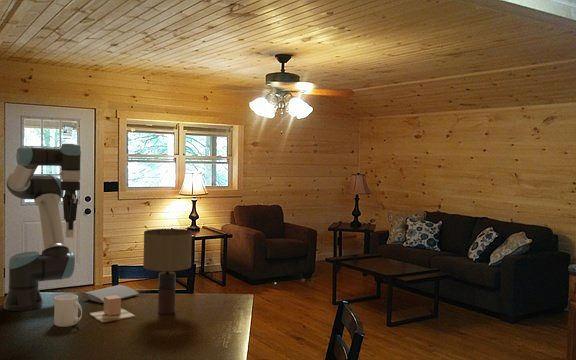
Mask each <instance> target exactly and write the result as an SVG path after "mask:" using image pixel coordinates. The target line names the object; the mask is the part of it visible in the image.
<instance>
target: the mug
mask: <svg viewBox="0 0 576 360" xmlns="http://www.w3.org/2000/svg"><path fill="white" fill-rule="evenodd" d="M79 310H80V316H79ZM53 313H54V318H53V319H54V325H55V326H56V327H60V328H61V327H62V328H63V327H64V328H66V327H67V328H68V327H72V326H75V325H77V324H78V322H79V321H81V319H82V317H83V308H82V306H81V304H80V303H79V296H78V295H77V294H72V293H71V294H60V295H57V296H54V311H53Z"/></svg>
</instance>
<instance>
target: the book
mask: <svg viewBox="0 0 576 360" xmlns="http://www.w3.org/2000/svg"><path fill="white" fill-rule="evenodd" d="M84 294H87V296H88V298H89V300H90V301H92V302H93V301H94V302H97V303H102V304H104V297H106V296H113V295H117V296H119V297H121V300H123V299H127V298H132V297H135V296H136V295H139V294H140V292H138V291H137V290H135V289H133V288H132V287H129V286H127V285H124V284H116V285H112V286H108V287H105V288H104V287H103V288H100V289H95V290H90V291H87V292H84Z"/></svg>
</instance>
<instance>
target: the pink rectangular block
mask: <svg viewBox="0 0 576 360" xmlns="http://www.w3.org/2000/svg"><path fill="white" fill-rule="evenodd" d="M121 308H122V299H121V297H119V296H117V295H113V296H106V297H104V303H103V311H104V313H105V314H106V315H108V316H111V315H117V314H121Z"/></svg>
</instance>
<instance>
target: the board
mask: <svg viewBox="0 0 576 360" xmlns="http://www.w3.org/2000/svg"><path fill="white" fill-rule="evenodd" d="M89 316H91V317H92V318H95V320H97V321H98V322H100V323H102V324H103V323H107V322H108V323H109V322H114V321H119V320H120V321H121V320H127V319H132V318H136V315H135V314H133V313H131V312H130V311H128V310H126V309H124V308H122V307H121V314H117V315H111V316H108V315H106V314H105V313H104V310H101V311H95V312H93V311H92V312H89Z"/></svg>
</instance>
